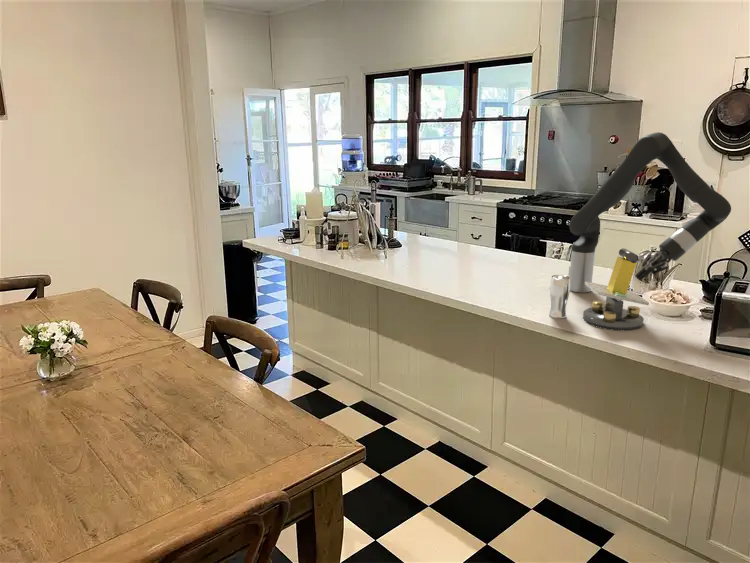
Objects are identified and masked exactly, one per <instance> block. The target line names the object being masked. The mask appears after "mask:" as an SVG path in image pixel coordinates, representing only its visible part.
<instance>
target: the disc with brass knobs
mask: <svg viewBox="0 0 750 563" xmlns="http://www.w3.org/2000/svg"><path fill="white" fill-rule="evenodd" d="M640 312H641V308H640V307H639V306H635V305H634V306H633V305H630V306H627V309H624V300H620V299H615V298H610V297H606V298H605V302H604V301H601V300H593V301H592V303H591V307H590V308H586V309H585V310H584V311H583V315H582V319H584V320H583V321H584V322H585V321H586V322H585V323H587V324H588V325H591V326H593V325H594V326H593V327H596V326H597V328H600V327H601V329H604V328H606V330H610V329H613V331H623V330H624V331H635V330H638V329H641V328H642V327H643V326H644V319H645V318H644V317H643V315H641V314H640Z"/></svg>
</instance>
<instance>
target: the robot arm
mask: <svg viewBox="0 0 750 563" xmlns="http://www.w3.org/2000/svg"><path fill="white" fill-rule="evenodd" d="M655 160H658V161H659V162H661V163H662V164H663V165H664V166H666V168H667V169H668V171H669V172H670V174H671V175H672V177H673V179H674V182H675V184H676V185H677V187H678V188H679V189H680V191H681V192H683V194H685V196H686V197H687V198H688V199H689V200H690V201H692V202H693V203H695V204H698V205H699V206H700V207H701V208H702V209H703V211H702V212H700V213H699V214H698V215H697V216H696V217H695V218H692V219H690V220H689V221H688V222H686V223H685V224H684V225H683V226H682V227H681V228H679V229H678V230H676V231H675V232H673V233H671V235H670V236H668V237H667V238H666V239H665V240H664V241H663V242H662V243H660V244H659V246H658V247H659V250H658V251H656V252H655V253H654V254H653V255H651V254H648V255H647V256H646V257H645V260H644V261H643V263H642V265H641V266H642V269H641V270H639V271H638V272H637V273H635V275H634V276H635V278H636V279H637V280H638V281H642V280H643V279H644V278H646V277H647V276H648V275H651V274H652V275H655V274H658V273H660V272H662V271H665V270H668V268H669V265H668V264H669V263H671V261H673V262H676V261H678V260H679V259H680V258H681V257H683V256H684V255H685V254H686V253H687V252H688V251H689V250H691V249H692V248H693V247H694V246H695V245H697V243H698V242H699V241H700V240H702V238H704V237H705V236H707V234H708V233H709V232H711V231H713V229H714V228H716V227H718V226H719V225H720V224H722V223H723V222H725V220H727V218H728V217H729V215H730V214H731V211H732V206H731V204H730V202H729V200H727V199H726V198H725V196H723V195H722V194H720V193H719V192H717V191H716V190H715V189H713V188H711V187H710V185H709V184H708V183H707V182H706V181H705V180H704V179H703V178H702V177H700V175H699V174H697V172H696V171H695V170H694V169H693V168H692V167H691V166H690V165H689V164H688V162H687V161H686V159H685V158H684V157H683V156H682V154H681V153H680V152H679V151H678V149H677V147H676V146H675V145H674V143H673V142H672V140H671V139H670V138H669V137H668V135H667V134H665V133H663V132H659V131H658V132H652V133H649V134H645V135H643V136H642V137H640V138H639V139H638V140H637V142H635V144H634V145H633V146H632V148H631V149H630V151H629V152H628V154H627V156H626V157H625V159H624V160H622V163H621V164H620V165H619V166H618V167H617V168H616V169H615V170H614V171H613V172H612V173H611V174H610V175H609V176H608V177H607V179H606V180H605V181H604V183H603V184H602V185H601V186H600V187H599V189H598V190H597V191H596V192H595V193H594V194H593V196H592V197H591V198H590V199H589V200H588V201H587V202H586V203H585V204H584V205H583V206H582V207H581V208H580V209H579V210H578V211H576V213H575V214H574V215H573V216H572V217H571V219H570V222H569V224H568V225H569V227H568V228H569V230H570V233H571V234H573V235H574V236H579V238H578V239H577V240H576V241H574V242H573V243H572V245H571V254H570V255H571V256H570V266H569V267H568V275H567V276H569V277H570V292H575V293H583V294H584V293H590V292H592V290H591V289H590V288H589V287H588V286H586V285H585V281H586V282H591V283H593V274H594V265H595V255H596V254H595V253H596V248H597V246H598V244H599V238H600V230H601V220H600V217H599V216H600V215H601V214H603V213H604V212H606V211H608V210H610V209H611V208H613V207H614V206H616V205H617V204H618V203H619V202H621V200H623V199H624V198H625V196H626V195H627V194H628V193H630V191H631V189H632V188H633V185H634V183H635V181H636V178H637V177H638V175H639V174H640V172H641V171H643V169H644V168H645V167H646V166H648V165H649V164H650V163H651V162H653V161H655Z"/></svg>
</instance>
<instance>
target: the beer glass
mask: <svg viewBox="0 0 750 563" xmlns="http://www.w3.org/2000/svg"><path fill="white" fill-rule="evenodd" d="M570 292H571V290H570V277H569V276H568V275H563V274H554V275H551V277H550V285H549V298H550V310H549V313H548V316H549V317H550V318H553V319H558V320H559V319H560V320H561V319H565V318H567V311H566V310H567V309H566V308H567V304H568V300H569V297H570V296H569V295H570Z"/></svg>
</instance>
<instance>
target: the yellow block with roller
mask: <svg viewBox="0 0 750 563" xmlns="http://www.w3.org/2000/svg"><path fill="white" fill-rule="evenodd" d="M618 255H619V256H617V257H616V259H615V263H614V266H613V268H612V272H611V276H610V278H609V281H608V284H607V285H604V284H599V283H594V282H592V283H591V282H586V281H585V285H586V286H588V287H589V288H590V289H591V292H594V293H595V294H596V295H597V296H602V297H610V298H615V299H620V300H622V301H625V302H628V303H629V302H630V303H634V304H639V305H645V306H649V305H650V302H649V301H648V300H646V299H645V298H643V297H642V296H640V295H639V294H637V293H636V292H634V291H633V290H629V287H630V284H631V281H632V278H633V276H634V273H635V269H636V266H637V264H638V262H639V259H640V257H639V255H638V254H636V253H635V252H633V251H630V250H629V249H627V248H624V247H623V248H621V249H619V250H618Z"/></svg>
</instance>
